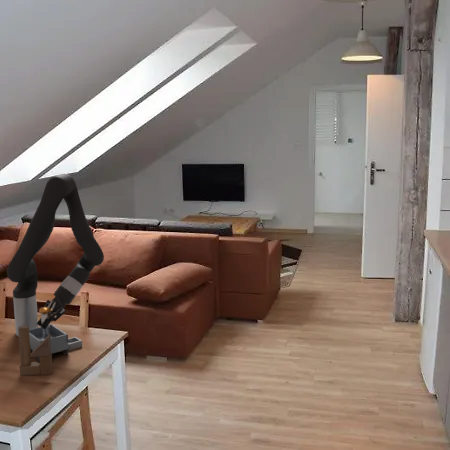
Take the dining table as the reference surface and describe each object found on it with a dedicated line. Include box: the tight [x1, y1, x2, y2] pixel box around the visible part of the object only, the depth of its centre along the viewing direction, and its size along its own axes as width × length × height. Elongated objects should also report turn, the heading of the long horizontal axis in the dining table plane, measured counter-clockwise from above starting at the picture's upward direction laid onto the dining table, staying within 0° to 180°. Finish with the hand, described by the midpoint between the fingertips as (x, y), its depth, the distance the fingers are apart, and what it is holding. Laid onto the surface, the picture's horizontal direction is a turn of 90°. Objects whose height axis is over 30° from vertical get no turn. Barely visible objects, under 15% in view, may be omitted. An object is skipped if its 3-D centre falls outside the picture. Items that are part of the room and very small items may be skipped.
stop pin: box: [38, 306, 51, 339], centre depth 204 cm, size 4×4×12 cm
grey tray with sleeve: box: [29, 323, 83, 363], centre depth 207 cm, size 15×19×9 cm
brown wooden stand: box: [18, 325, 54, 377], centre depth 187 cm, size 4×11×18 cm, turn 96°
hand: (40, 326), depth 202 cm, fingers open, 3 cm apart
